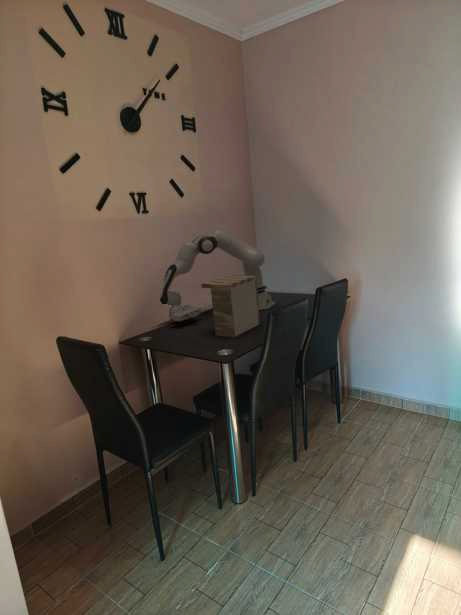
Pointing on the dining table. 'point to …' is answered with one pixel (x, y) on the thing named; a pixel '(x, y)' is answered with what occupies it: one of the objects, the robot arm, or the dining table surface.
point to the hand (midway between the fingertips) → (196, 315)
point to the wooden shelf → (234, 304)
